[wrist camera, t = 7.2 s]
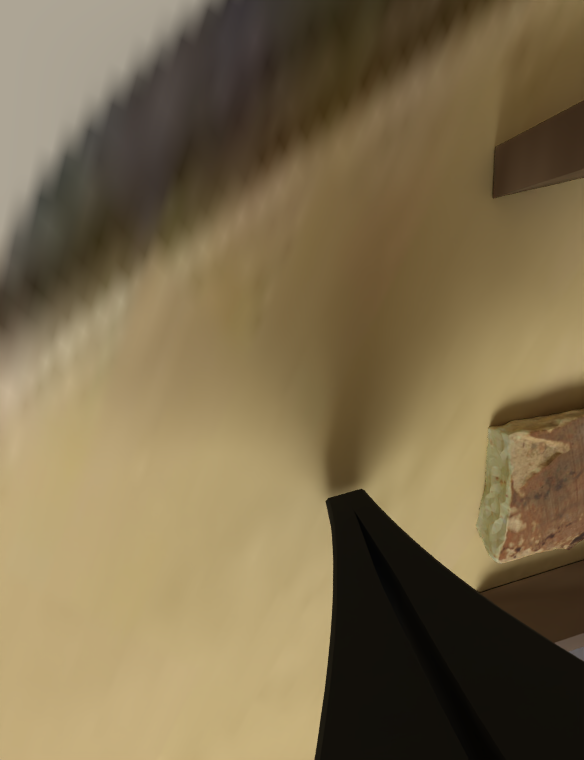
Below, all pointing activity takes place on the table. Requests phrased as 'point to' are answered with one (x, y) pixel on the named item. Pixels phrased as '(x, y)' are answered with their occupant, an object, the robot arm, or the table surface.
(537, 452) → the shard
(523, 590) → the frame
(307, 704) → the table surface
